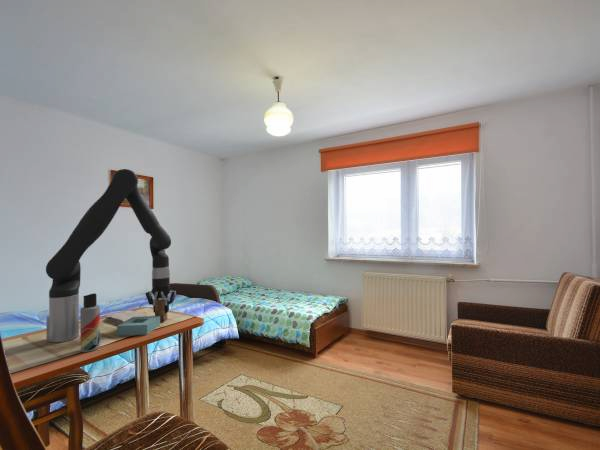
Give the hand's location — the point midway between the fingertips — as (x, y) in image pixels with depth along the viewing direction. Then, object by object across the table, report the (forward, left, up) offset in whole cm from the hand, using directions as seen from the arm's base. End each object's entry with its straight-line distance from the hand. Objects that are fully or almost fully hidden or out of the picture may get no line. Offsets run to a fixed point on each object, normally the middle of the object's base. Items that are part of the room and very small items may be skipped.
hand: (161, 312), depth 136 cm
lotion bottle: (-12, -31, -4) cm, 34 cm away
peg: (0, 0, -4) cm, 4 cm away
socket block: (-4, -12, -4) cm, 13 cm away
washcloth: (-19, +5, -5) cm, 20 cm away
